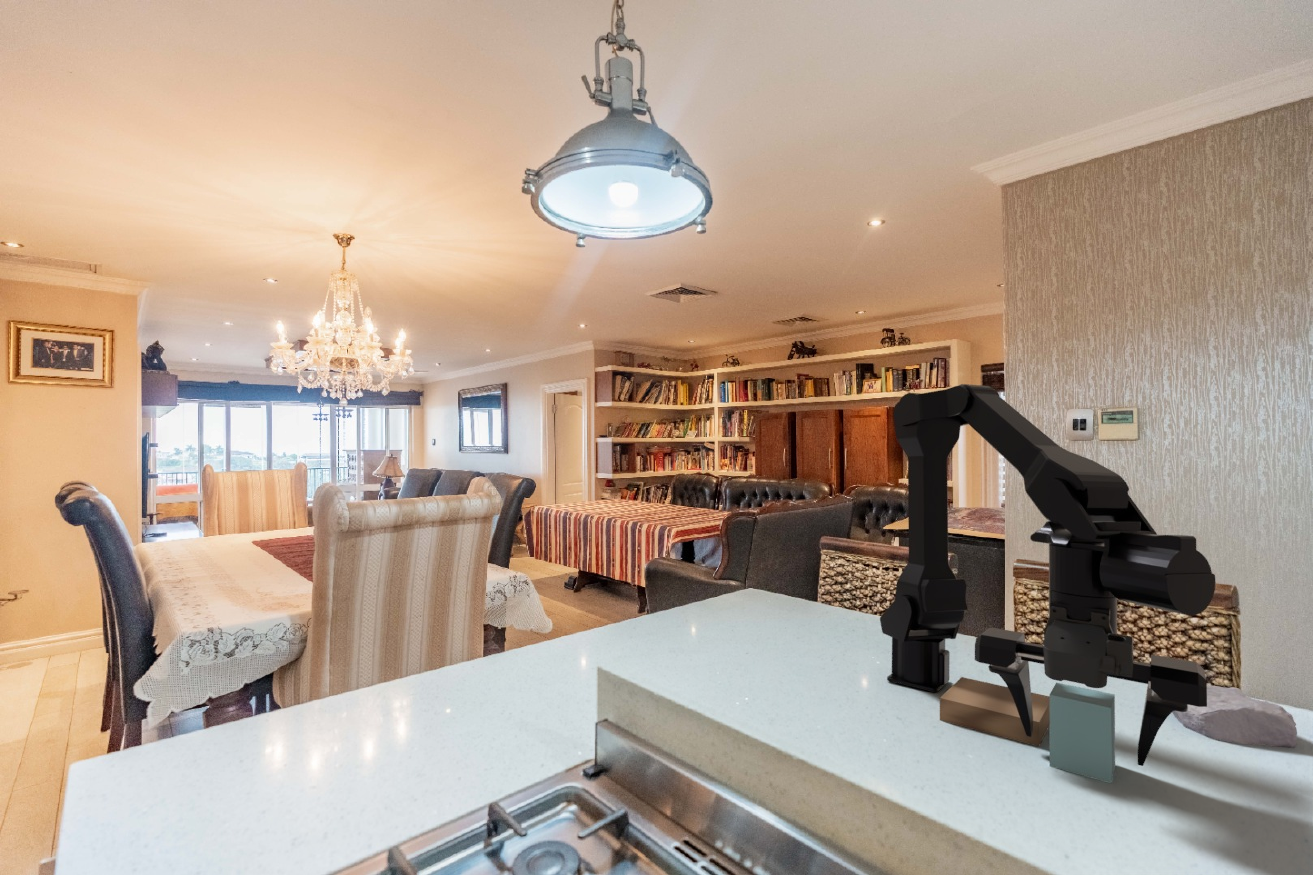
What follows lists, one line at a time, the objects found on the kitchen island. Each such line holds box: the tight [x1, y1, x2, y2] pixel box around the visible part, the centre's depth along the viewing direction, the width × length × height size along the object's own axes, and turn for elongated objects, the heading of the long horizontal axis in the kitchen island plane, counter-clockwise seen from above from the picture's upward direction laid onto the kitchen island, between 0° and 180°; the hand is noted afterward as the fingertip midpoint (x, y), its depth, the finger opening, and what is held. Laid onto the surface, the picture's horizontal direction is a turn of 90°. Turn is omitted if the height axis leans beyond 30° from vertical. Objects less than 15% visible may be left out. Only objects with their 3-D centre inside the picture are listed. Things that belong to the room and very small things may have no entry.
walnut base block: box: [939, 676, 1050, 747], centre depth 73 cm, size 10×10×3 cm
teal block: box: [1049, 681, 1116, 784], centre depth 62 cm, size 5×5×7 cm
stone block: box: [1171, 684, 1298, 749], centre depth 74 cm, size 12×5×10 cm
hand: (1082, 749), depth 62 cm, fingers open, 9 cm apart
